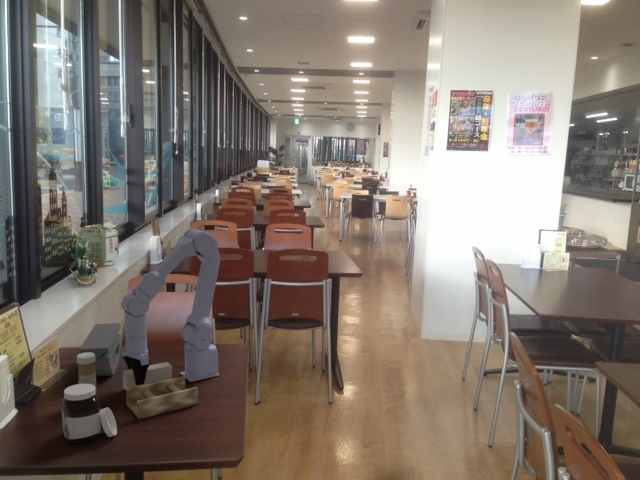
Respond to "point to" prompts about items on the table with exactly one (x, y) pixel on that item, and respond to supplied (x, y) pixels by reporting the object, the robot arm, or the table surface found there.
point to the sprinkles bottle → (86, 369)
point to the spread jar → (85, 414)
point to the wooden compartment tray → (160, 397)
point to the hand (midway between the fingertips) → (137, 381)
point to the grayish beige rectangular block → (148, 375)
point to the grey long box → (104, 347)
